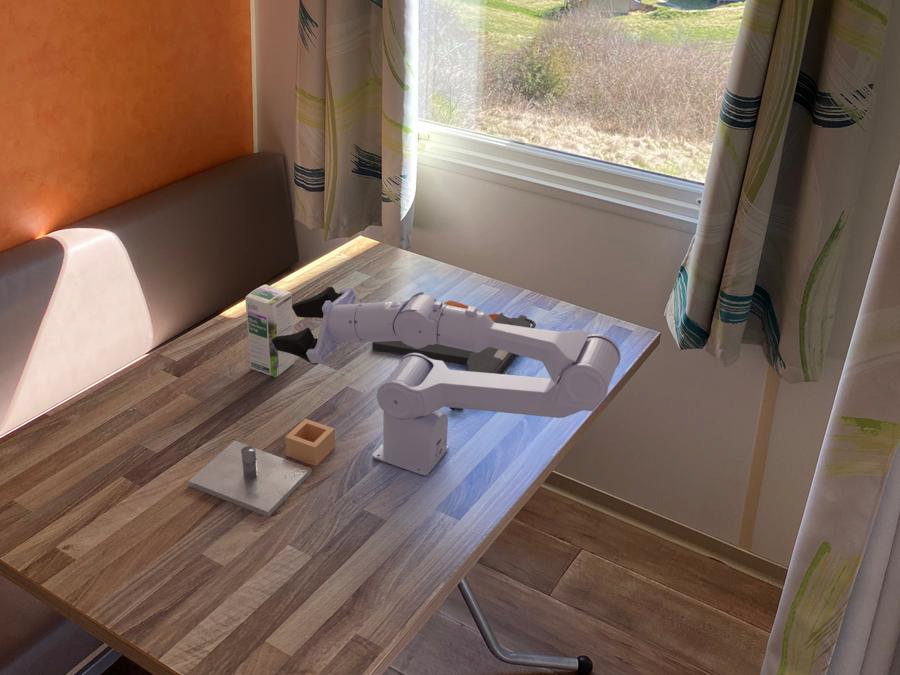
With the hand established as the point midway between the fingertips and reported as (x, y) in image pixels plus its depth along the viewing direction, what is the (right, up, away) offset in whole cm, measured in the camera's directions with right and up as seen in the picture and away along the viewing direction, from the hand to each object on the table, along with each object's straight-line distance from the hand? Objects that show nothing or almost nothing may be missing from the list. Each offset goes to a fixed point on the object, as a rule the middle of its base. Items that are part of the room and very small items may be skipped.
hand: (285, 326), depth 148 cm
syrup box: (-6, -7, +23) cm, 25 cm away
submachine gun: (+24, -5, +30) cm, 38 cm away
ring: (+3, -19, +3) cm, 20 cm away
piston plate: (-5, -23, -3) cm, 23 cm away
